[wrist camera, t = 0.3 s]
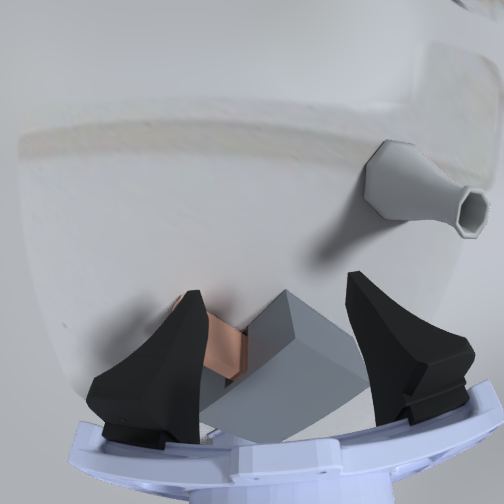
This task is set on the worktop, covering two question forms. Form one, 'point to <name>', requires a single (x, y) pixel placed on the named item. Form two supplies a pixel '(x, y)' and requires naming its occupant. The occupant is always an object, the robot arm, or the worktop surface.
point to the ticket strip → (225, 348)
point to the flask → (422, 191)
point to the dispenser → (284, 375)
